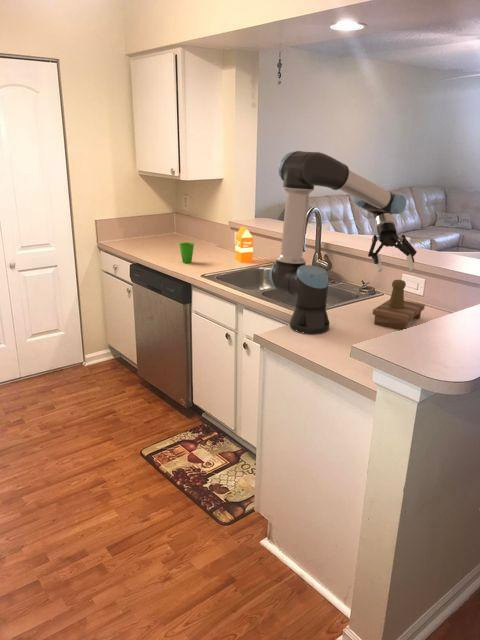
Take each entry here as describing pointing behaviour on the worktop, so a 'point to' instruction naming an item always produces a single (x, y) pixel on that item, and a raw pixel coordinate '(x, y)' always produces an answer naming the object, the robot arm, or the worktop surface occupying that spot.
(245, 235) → the orange juice
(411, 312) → the walnut shelf
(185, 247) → the cup
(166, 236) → the worktop surface
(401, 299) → the cork
